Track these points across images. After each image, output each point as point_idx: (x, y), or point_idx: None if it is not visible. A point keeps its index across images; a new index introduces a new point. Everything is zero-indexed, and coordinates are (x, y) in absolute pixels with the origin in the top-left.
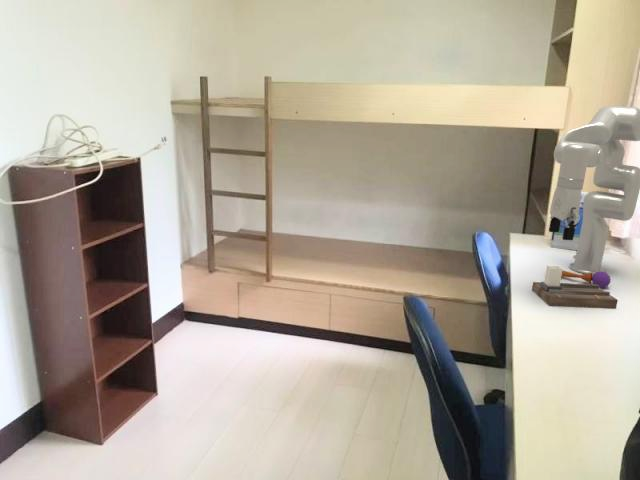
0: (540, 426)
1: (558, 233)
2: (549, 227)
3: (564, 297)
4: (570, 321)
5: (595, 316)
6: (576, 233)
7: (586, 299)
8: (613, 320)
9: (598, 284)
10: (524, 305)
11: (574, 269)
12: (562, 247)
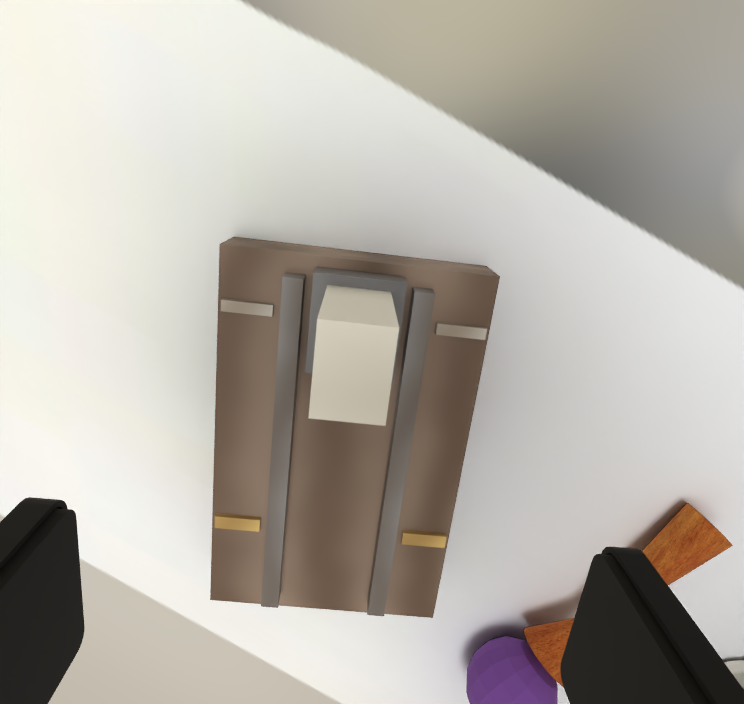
0: None
1: None
2: (674, 602)
3: (223, 333)
4: (16, 234)
5: (109, 413)
6: None
7: (215, 451)
8: (70, 470)
9: (483, 649)
10: (233, 65)
11: (731, 666)
12: None
